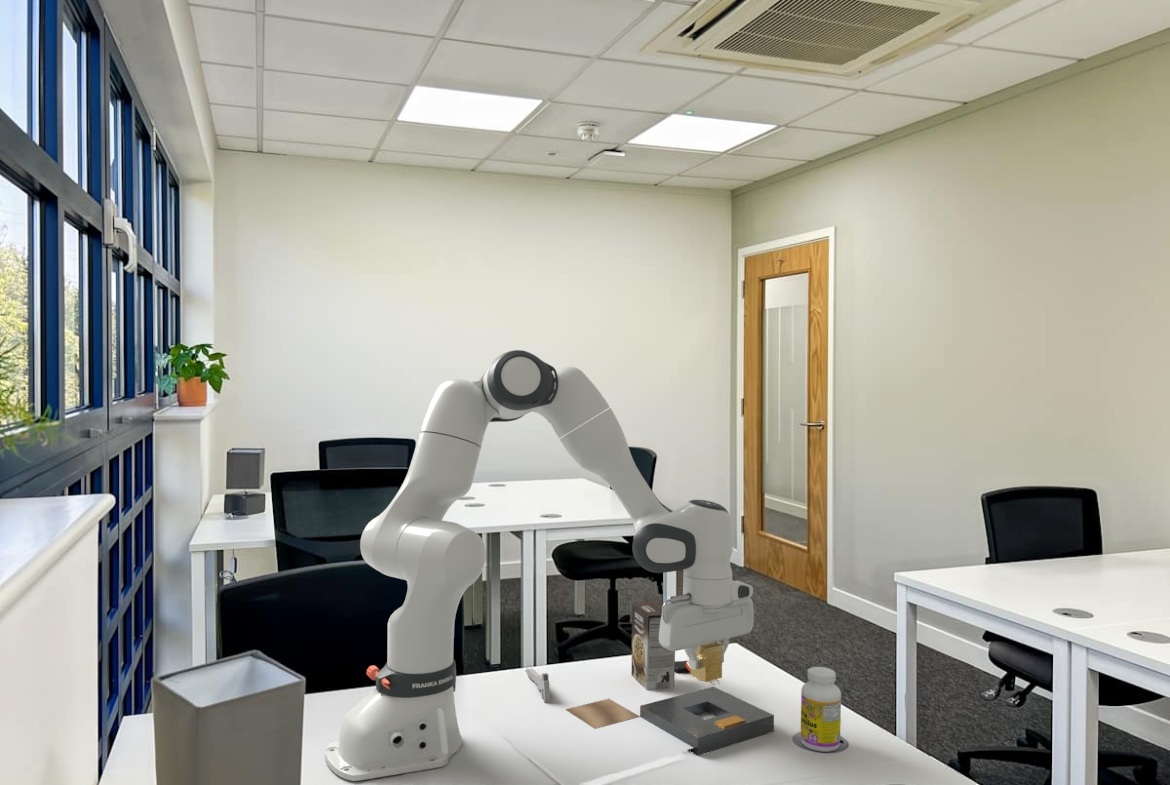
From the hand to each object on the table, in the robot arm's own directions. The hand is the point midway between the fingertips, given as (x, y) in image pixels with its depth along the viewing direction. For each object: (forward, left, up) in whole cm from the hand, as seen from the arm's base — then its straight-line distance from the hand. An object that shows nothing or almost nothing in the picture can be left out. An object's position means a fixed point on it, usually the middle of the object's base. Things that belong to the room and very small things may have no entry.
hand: (706, 665), depth 149 cm
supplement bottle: (+12, -16, -11) cm, 23 cm away
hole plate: (0, 0, -11) cm, 11 cm away
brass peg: (0, 0, -2) cm, 2 cm away
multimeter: (+16, +18, -12) cm, 27 cm away
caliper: (-17, +32, -12) cm, 38 cm away
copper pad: (-14, +13, -11) cm, 22 cm away
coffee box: (+4, +21, -11) cm, 24 cm away
